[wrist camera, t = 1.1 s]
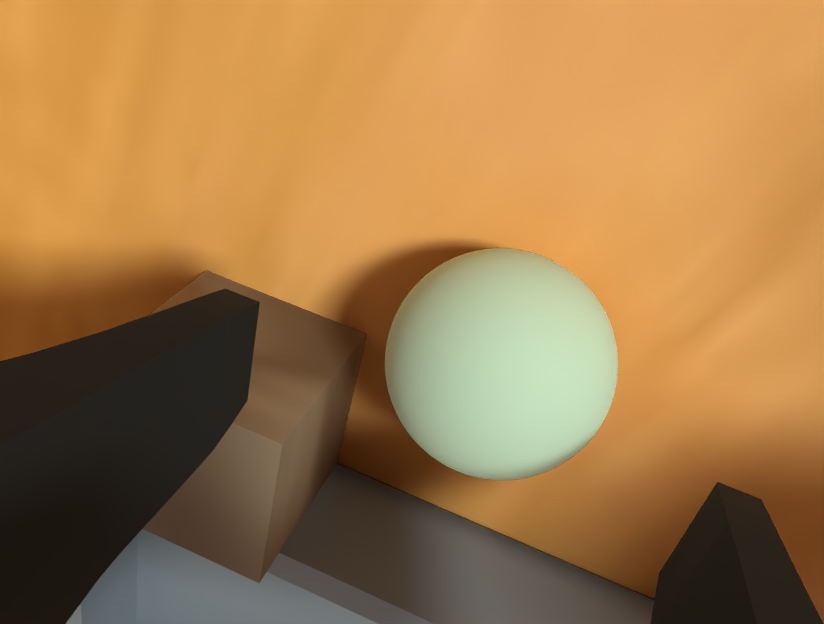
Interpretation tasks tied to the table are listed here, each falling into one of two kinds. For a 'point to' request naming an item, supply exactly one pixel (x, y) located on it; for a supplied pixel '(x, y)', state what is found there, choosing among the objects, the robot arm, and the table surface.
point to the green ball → (501, 364)
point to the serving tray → (362, 573)
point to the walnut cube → (267, 437)
